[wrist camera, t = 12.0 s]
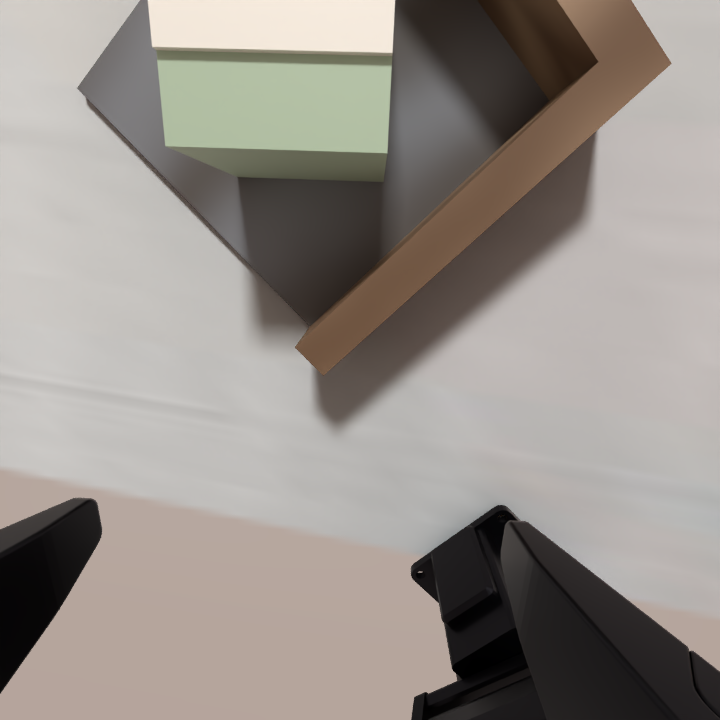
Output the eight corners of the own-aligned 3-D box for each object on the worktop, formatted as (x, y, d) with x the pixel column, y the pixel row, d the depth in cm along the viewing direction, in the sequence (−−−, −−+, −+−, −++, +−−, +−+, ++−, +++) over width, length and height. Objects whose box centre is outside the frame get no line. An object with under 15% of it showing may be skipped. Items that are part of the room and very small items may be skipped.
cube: (392, 3, 15) (402, -152, 9) (383, 182, 17) (387, 151, 11) (229, -1, 15) (133, -155, 9) (237, 177, 17) (161, 144, 11)
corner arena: (600, 105, 16) (671, 63, 12) (333, 347, 19) (323, 375, 15) (343, -266, 13) (330, -472, 9) (84, 91, 16) (-5, 47, 13)
